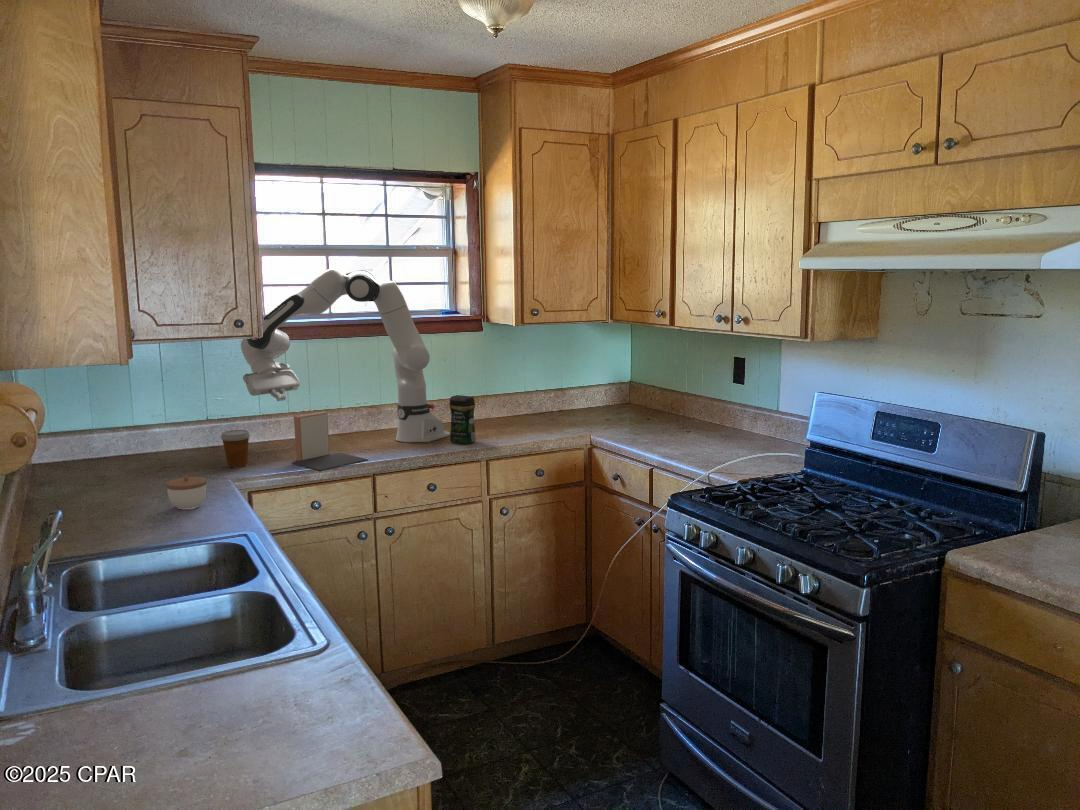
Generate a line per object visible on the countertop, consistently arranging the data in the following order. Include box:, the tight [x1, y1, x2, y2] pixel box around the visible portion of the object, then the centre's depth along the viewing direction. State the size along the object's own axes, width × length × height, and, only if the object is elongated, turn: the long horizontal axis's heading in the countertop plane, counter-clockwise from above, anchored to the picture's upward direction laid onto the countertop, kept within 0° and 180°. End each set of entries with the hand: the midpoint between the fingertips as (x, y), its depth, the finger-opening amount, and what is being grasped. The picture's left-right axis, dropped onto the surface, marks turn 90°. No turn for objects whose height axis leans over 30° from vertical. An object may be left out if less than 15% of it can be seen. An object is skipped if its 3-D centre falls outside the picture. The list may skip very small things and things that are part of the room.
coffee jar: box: [448, 394, 476, 445], centre depth 323 cm, size 10×8×19 cm
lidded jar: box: [165, 475, 207, 509], centre depth 241 cm, size 11×11×9 cm
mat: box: [291, 451, 369, 472], centre depth 295 cm, size 20×17×1 cm
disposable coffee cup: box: [220, 429, 251, 468], centre depth 289 cm, size 10×10×12 cm
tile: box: [293, 411, 331, 461], centre depth 300 cm, size 12×3×16 cm, turn 139°
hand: (282, 399), depth 310 cm, fingers closed
